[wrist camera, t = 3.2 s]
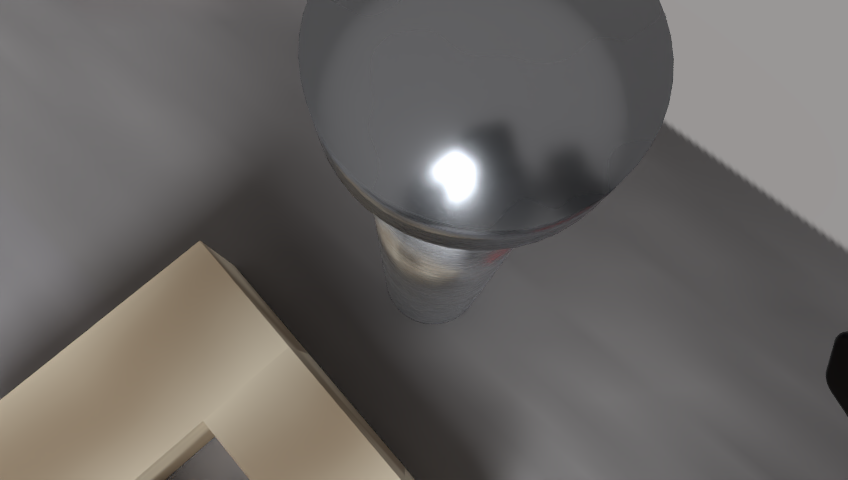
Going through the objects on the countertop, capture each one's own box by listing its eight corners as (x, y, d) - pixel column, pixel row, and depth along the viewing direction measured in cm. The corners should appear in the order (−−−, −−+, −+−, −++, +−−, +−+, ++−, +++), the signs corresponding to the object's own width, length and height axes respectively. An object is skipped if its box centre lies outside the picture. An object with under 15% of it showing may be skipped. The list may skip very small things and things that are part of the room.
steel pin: (519, 282, 20) (749, 64, 7) (428, 367, 20) (478, 311, 6) (436, 194, 21) (494, -171, 7) (345, 272, 20) (220, 30, 7)
